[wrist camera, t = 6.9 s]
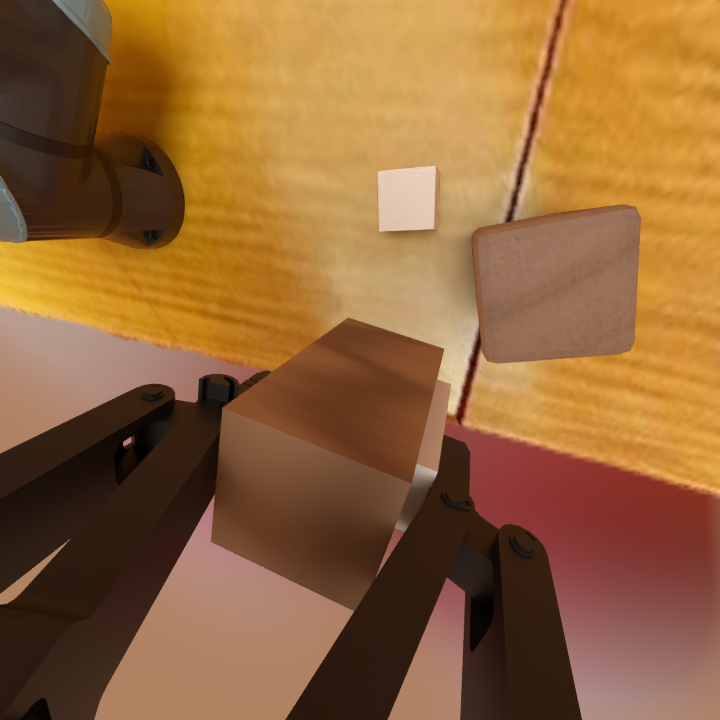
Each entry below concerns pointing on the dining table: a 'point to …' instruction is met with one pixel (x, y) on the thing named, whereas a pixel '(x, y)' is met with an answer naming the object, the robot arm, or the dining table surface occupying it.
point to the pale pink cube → (408, 199)
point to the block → (558, 285)
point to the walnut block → (325, 458)
